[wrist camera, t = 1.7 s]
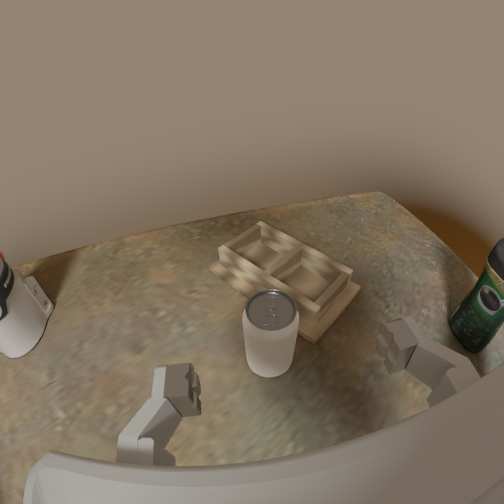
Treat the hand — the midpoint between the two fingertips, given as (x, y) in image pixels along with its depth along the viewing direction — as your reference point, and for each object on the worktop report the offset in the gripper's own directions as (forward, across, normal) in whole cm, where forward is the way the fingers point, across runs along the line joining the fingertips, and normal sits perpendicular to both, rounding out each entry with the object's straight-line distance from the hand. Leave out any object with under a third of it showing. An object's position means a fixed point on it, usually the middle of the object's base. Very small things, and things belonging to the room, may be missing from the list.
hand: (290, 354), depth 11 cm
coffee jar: (+12, -36, +27) cm, 46 cm away
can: (+17, 0, +24) cm, 29 cm away
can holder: (+31, -5, +22) cm, 38 cm away
